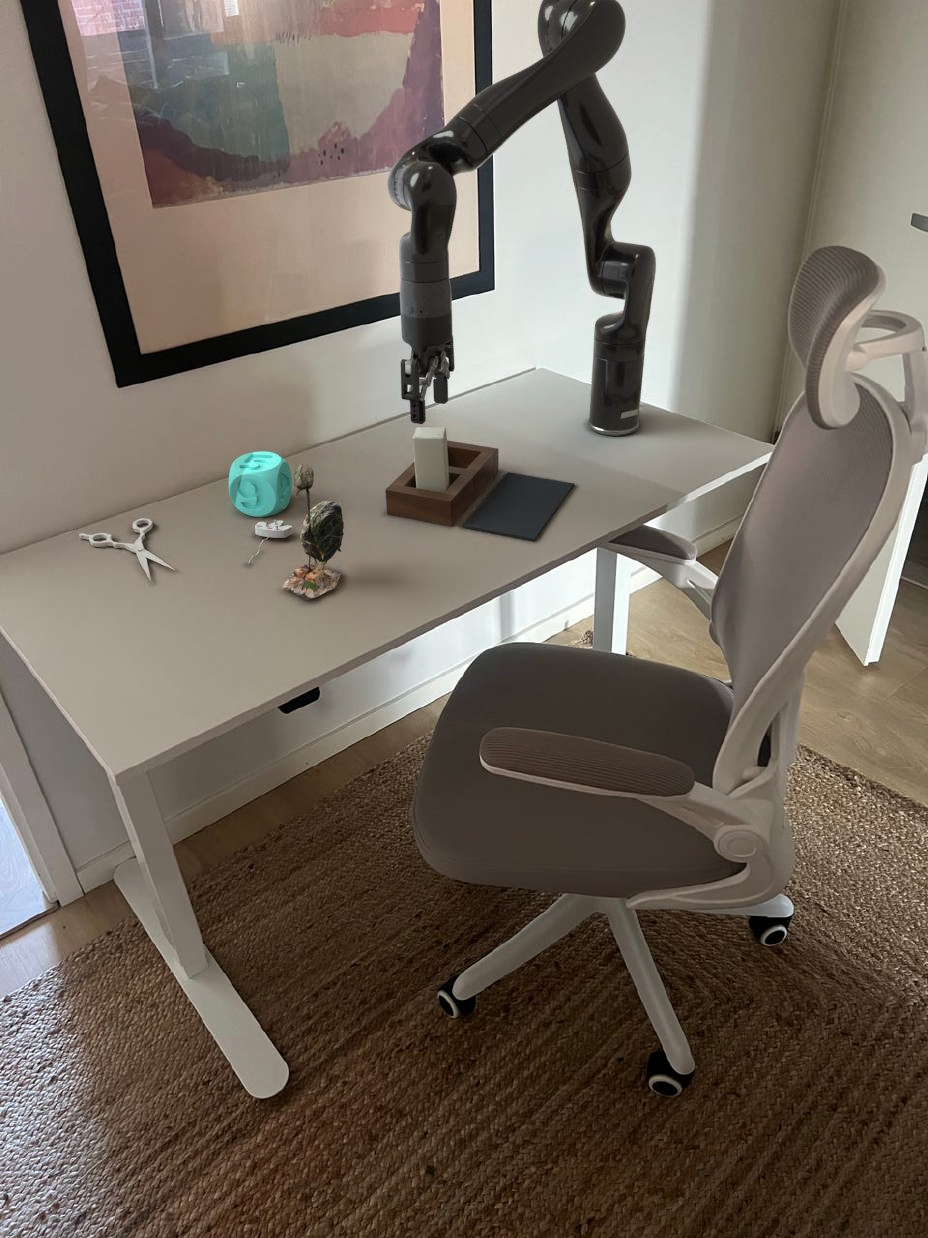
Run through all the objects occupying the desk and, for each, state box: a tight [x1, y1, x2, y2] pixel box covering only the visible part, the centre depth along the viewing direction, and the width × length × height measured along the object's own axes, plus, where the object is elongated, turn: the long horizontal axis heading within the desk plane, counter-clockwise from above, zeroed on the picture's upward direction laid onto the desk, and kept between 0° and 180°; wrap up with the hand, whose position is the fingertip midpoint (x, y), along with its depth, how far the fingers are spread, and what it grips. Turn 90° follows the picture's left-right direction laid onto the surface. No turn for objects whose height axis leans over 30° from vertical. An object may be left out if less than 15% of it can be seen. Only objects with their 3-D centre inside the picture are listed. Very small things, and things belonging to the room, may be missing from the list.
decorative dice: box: [228, 451, 293, 518], centre depth 161 cm, size 8×8×8 cm
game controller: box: [248, 519, 293, 565], centre depth 151 cm, size 6×12×3 cm, turn 2°
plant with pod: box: [281, 463, 345, 601], centre depth 138 cm, size 8×11×20 cm
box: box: [411, 426, 450, 493], centre depth 158 cm, size 5×4×13 cm
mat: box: [462, 471, 575, 542], centre depth 161 cm, size 20×12×1 cm, turn 157°
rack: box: [384, 439, 499, 527], centre depth 164 cm, size 21×11×4 cm, turn 157°
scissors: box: [78, 518, 176, 581], centre depth 151 cm, size 11×1×20 cm
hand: (430, 412), depth 153 cm, fingers open, 8 cm apart
